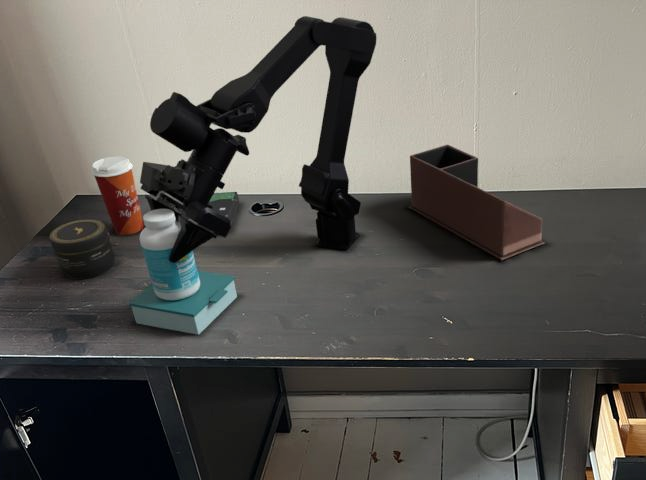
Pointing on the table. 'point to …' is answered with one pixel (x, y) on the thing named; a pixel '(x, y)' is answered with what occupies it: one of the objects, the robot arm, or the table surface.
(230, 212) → the disk drive
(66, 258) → the jar
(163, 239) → the pill bottle
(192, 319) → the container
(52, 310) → the table surface
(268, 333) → the table surface
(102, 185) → the paper cup
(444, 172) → the desk organizer
